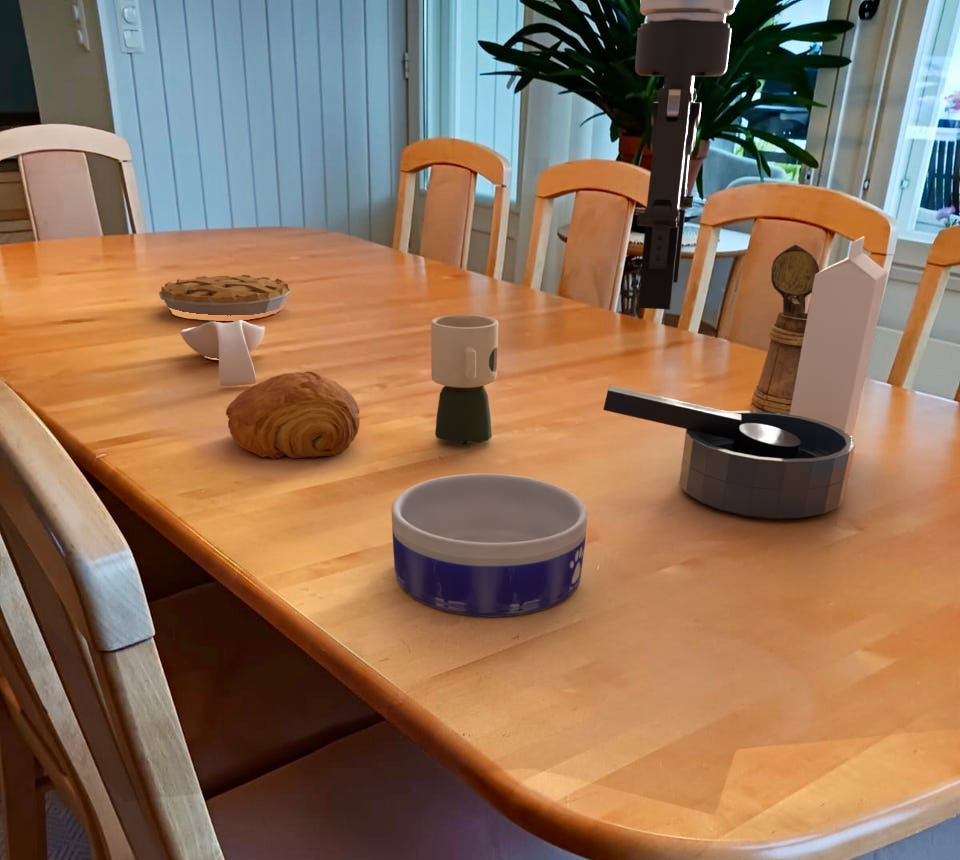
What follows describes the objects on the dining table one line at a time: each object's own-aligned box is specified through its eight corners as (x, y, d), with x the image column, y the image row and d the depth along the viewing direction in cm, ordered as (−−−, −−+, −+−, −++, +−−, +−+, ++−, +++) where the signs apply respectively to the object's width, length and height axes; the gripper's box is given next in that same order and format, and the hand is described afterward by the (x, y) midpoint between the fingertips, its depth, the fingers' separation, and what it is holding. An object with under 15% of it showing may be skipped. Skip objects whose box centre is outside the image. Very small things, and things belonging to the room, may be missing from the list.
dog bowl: (441, 525, 87) (441, 461, 84) (605, 555, 82) (611, 488, 79) (359, 595, 75) (355, 523, 72) (546, 636, 70) (550, 560, 67)
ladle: (782, 479, 98) (802, 422, 95) (785, 500, 93) (806, 441, 90) (598, 436, 100) (612, 379, 97) (591, 455, 95) (605, 395, 92)
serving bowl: (833, 474, 101) (845, 417, 98) (849, 531, 88) (863, 468, 85) (682, 460, 104) (689, 405, 101) (675, 514, 91) (683, 452, 88)
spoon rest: (180, 349, 143) (174, 298, 140) (261, 344, 147) (256, 295, 143) (194, 391, 124) (187, 333, 120) (286, 385, 127) (282, 328, 124)
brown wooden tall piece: (805, 387, 131) (831, 245, 122) (834, 417, 119) (865, 261, 110) (738, 386, 131) (760, 243, 122) (761, 415, 119) (786, 259, 110)
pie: (310, 303, 175) (308, 273, 173) (259, 327, 157) (256, 295, 154) (199, 295, 179) (196, 267, 177) (137, 319, 161) (132, 287, 158)
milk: (849, 451, 108) (897, 238, 97) (837, 466, 103) (886, 245, 93) (794, 441, 111) (835, 233, 100) (780, 455, 106) (821, 239, 95)
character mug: (503, 455, 104) (507, 331, 98) (437, 457, 103) (437, 332, 97) (486, 425, 114) (489, 310, 107) (426, 426, 113) (425, 310, 106)
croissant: (353, 435, 116) (351, 366, 113) (367, 460, 102) (365, 382, 99) (229, 438, 113) (223, 367, 110) (226, 463, 99) (219, 383, 96)
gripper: (649, 28, 90) (630, 270, 100) (624, 9, 69) (603, 318, 79) (732, 28, 89) (704, 273, 99) (732, 9, 67) (696, 323, 78)
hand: (659, 294), depth 89 cm, fingers open, 13 cm apart
